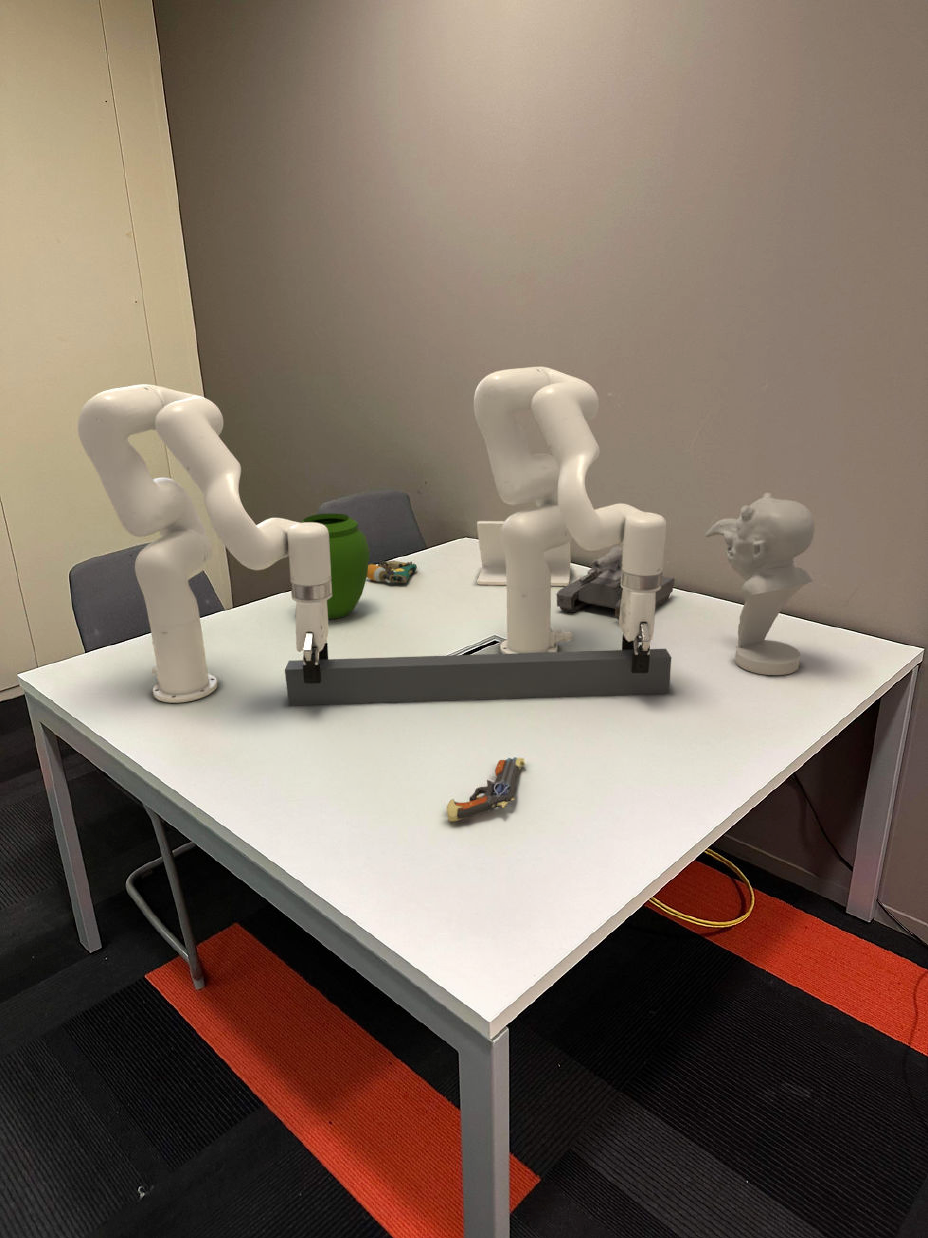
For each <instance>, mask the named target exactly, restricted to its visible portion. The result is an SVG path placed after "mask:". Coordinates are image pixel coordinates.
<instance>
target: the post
mask: <svg viewBox="0 0 928 1238" xmlns="http://www.w3.org/2000/svg"><path fill="white" fill-rule="evenodd" d="M632 653H634V650H622V649H612V650H610V649H609V650H608V649H607V650H582V651H580V650H579V651H577V650H576V651H557V652H544V653H513V654H502V653H487V654H486V653H485V654H456V655H454V654H453V655H424V656H423V655H421V656H393V657H392V656H391V657H389V656H388V657H363V658H360V657H359V658H331V659H330V658H328V659H325V660H319V663H320V668H321V683H304V675H303V659H300V660H299V659H298V660H296V659H295V660H288V661H287V664H286V666H285V669H284V675H285V683H286V684H285V685H286V693H287V694H286V695H287V702H288V706H289V707H290V706H291V707H292V706H318V705H320V706H321V705H347V704H348V705H349V704H350V705H351V704H353V705H354V704H380V703H410V702H442V701H443V702H444V701H472V700H474V701H475V700H502V699H504V700H506V699H507V700H508V699H537V698H538V699H539V698H540V699H541V698H567V697H568V698H569V697H598V696H599V697H600V696H629V695H658V694H659V695H660V694H661V695H662V694H663V695H664V694H670V686H671V670H672V656H671V654H670V653H669V651H668V649H667V648H650V659H649V671H648V673H632V671H631V665H632Z"/></svg>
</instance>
